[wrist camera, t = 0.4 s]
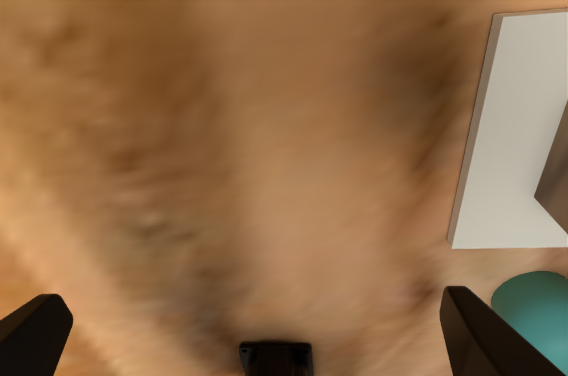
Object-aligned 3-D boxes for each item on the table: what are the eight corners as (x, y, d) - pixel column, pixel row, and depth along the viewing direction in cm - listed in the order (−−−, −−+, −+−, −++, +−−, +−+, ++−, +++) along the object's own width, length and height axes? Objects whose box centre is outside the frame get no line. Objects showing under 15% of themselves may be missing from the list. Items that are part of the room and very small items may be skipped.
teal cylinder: (557, 320, 28) (599, 383, 24) (484, 320, 29) (513, 381, 25) (582, 270, 25) (635, 332, 21) (500, 271, 26) (536, 332, 22)
